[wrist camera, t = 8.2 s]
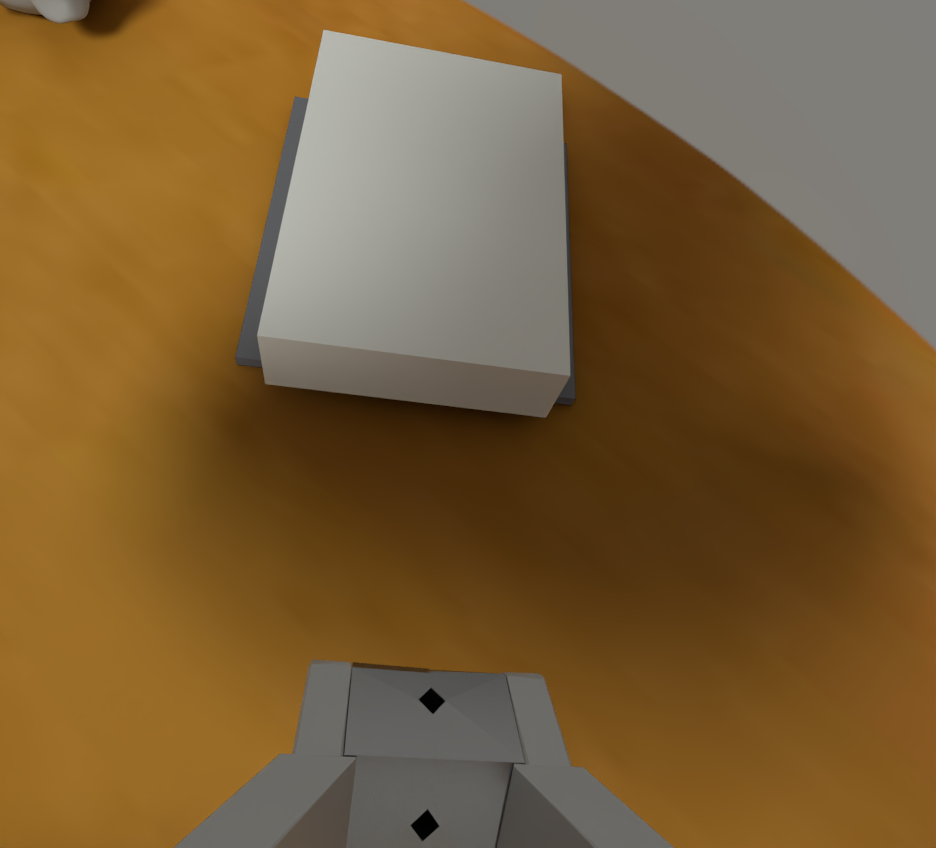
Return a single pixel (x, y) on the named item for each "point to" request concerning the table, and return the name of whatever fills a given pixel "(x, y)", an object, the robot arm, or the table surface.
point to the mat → (248, 338)
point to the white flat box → (423, 233)
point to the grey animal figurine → (51, 8)
